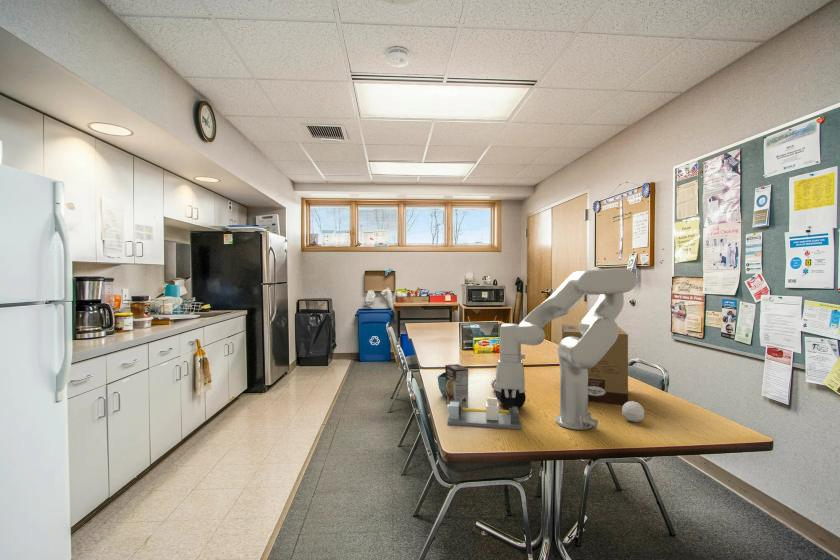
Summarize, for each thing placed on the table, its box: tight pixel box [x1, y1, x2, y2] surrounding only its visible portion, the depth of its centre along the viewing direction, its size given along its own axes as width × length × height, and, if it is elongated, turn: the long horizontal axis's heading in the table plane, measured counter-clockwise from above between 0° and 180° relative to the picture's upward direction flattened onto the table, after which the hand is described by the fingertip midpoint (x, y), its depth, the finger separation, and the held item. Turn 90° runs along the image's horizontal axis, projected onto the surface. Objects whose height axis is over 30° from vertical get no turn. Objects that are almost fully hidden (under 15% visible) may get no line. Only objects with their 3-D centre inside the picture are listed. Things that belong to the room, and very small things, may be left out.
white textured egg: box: [621, 400, 650, 423], centre depth 135 cm, size 10×7×7 cm
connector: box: [446, 401, 463, 419], centre depth 139 cm, size 5×5×5 cm
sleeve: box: [485, 397, 500, 420], centre depth 136 cm, size 4×5×7 cm
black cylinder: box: [490, 377, 527, 410], centre depth 164 cm, size 10×34×10 cm, turn 178°
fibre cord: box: [461, 407, 510, 415], centre depth 137 cm, size 22×1×1 cm, turn 80°
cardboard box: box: [561, 323, 629, 406], centre depth 169 cm, size 26×26×30 cm
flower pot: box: [437, 371, 446, 397], centre depth 168 cm, size 9×9×9 cm
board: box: [447, 407, 522, 430], centre depth 137 cm, size 26×10×5 cm, turn 80°
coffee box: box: [444, 363, 469, 408], centre depth 155 cm, size 9×6×16 cm
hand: (510, 407), depth 135 cm, fingers closed
